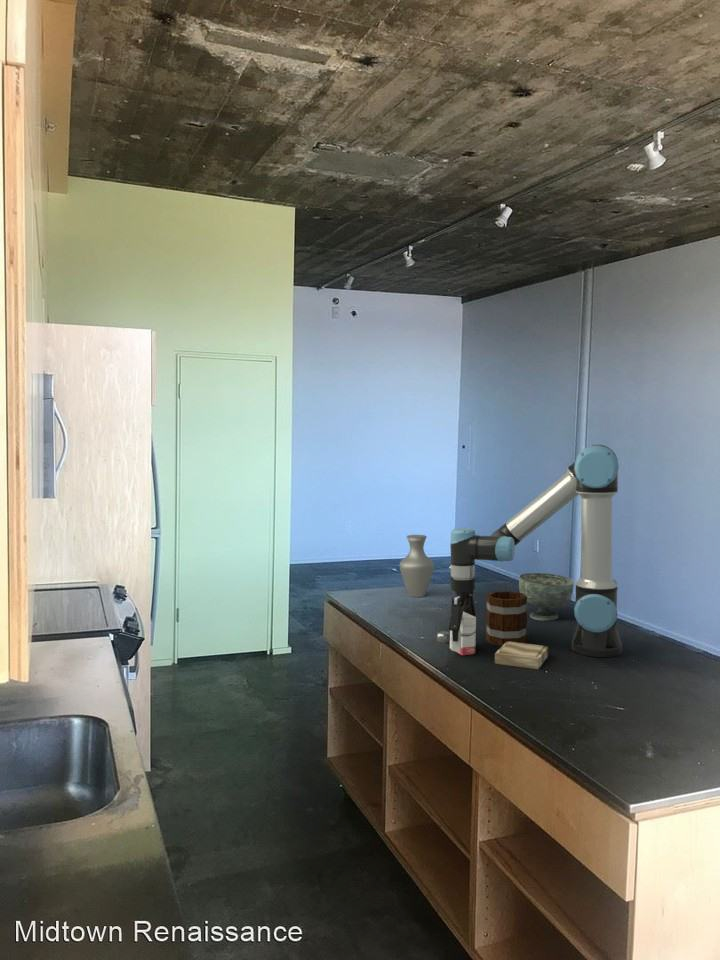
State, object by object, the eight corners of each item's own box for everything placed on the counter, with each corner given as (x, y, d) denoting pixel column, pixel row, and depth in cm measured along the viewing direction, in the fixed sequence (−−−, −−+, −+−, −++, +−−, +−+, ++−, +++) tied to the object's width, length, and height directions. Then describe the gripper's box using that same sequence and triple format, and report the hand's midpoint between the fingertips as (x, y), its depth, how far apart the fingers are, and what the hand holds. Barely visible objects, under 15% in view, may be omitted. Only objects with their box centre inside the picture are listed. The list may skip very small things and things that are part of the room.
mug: (524, 648, 237) (524, 601, 236) (482, 644, 242) (482, 598, 240) (531, 631, 256) (531, 588, 255) (491, 628, 260) (491, 586, 259)
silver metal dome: (439, 639, 248) (439, 630, 247) (451, 641, 246) (450, 632, 246) (435, 642, 244) (435, 633, 244) (446, 644, 242) (446, 635, 242)
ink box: (476, 654, 232) (476, 616, 231) (462, 656, 230) (462, 618, 229) (462, 646, 240) (462, 610, 239) (449, 648, 238) (448, 611, 237)
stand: (506, 651, 234) (506, 640, 234) (547, 656, 229) (548, 645, 228) (494, 663, 223) (494, 651, 222) (538, 669, 217) (538, 657, 217)
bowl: (576, 625, 263) (576, 583, 261) (520, 623, 266) (520, 582, 264) (569, 611, 282) (570, 572, 281) (517, 609, 285) (517, 571, 284)
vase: (417, 589, 320) (416, 532, 318) (441, 595, 309) (441, 536, 307) (392, 595, 311) (392, 535, 309) (416, 601, 300) (416, 539, 298)
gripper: (463, 569, 245) (463, 634, 247) (438, 584, 224) (438, 654, 226) (485, 571, 242) (485, 636, 244) (461, 586, 221) (461, 658, 222)
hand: (462, 645), depth 235 cm, fingers open, 12 cm apart
